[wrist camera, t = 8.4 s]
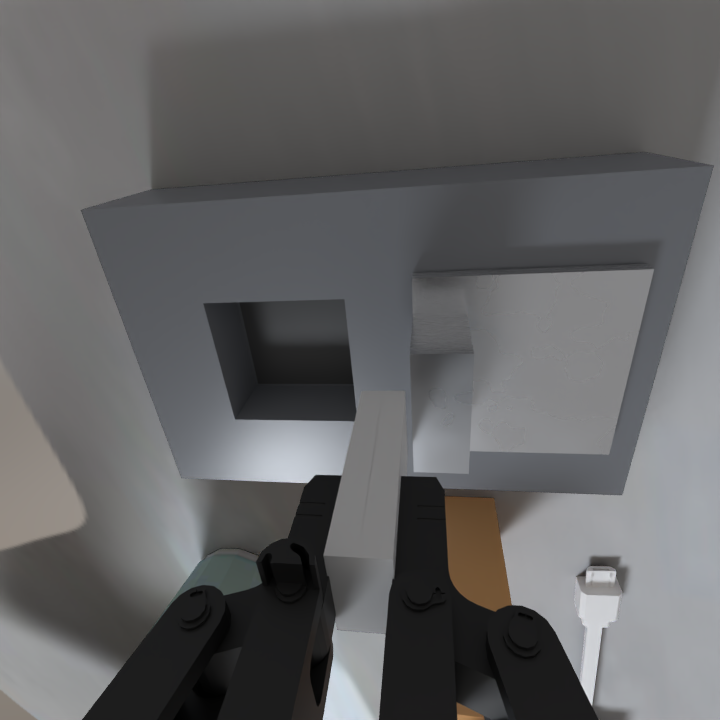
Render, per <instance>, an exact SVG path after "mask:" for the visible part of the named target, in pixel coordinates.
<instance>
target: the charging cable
mask: <svg viewBox="0 0 720 720" xmlns="http://www.w3.org/2000/svg"><path fill="white" fill-rule="evenodd" d="M621 599H622V590H621V587H620V585H619V582H618V580H617V578H616V569H614V568H612V567H611V566H589V567H588V568H587V569H586V576H576V585H575V597H574V603H575V606H576V610H577V613H578V616H579V617H580V618H581V621H582V624H583V625H584V626H585V635H584V644H583V654H582V663H581V673H580V683H581V685H582V687H583V689H584V691H585V693H586V695H587V697H588V699H589V701H590V703H591V706H592V702H593V695H594V687H595V680H596V672H597V665H598V657H599V650H600V642H601V634H602V628H608V627H609V626H610V622H616V621H617V619H618V618H619V612H620V605H621Z"/></svg>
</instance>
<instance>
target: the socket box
mask: <svg viewBox="0 0 720 720" xmlns="http://www.w3.org/2000/svg"><path fill="white" fill-rule="evenodd" d="M713 167H714V166H713V165H708V164H703V163H698V162H693V161H688V160H683V159H678V158H673V157H667V156H662V155H657V154H652V153H647V152H640V153H627V154H614V155H601V156H588V157H575V158H561V159H548V160H535V161H522V162H509V163H495V164H482V165H469V166H456V167H443V168H430V169H416V170H403V171H390V172H377V173H364V174H350V175H337V176H324V177H311V178H298V179H285V180H271V181H258V182H245V183H232V184H219V185H206V186H192V187H179V188H166V189H153V190H148V191H144V192H141V193H138V194H134V195H131V196H127V197H124V198H120V199H117V200H113V201H110V202H106V203H103V204H99V205H96V206H92V207H89V208H85V209H82V210H81V212H82V214H83V217H84V220H85V222H86V225H87V228H88V230H89V233H90V236H91V238H92V241H93V244H94V246H95V249H96V252H97V254H98V257H99V260H100V262H101V265H102V268H103V270H104V273H105V276H106V278H107V281H108V284H109V286H110V289H111V292H112V294H113V297H114V300H115V302H116V305H117V308H118V310H119V313H120V316H121V318H122V321H123V324H124V326H125V329H126V332H127V334H128V337H129V340H130V342H131V345H132V348H133V350H134V353H135V355H136V358H137V361H138V363H139V366H140V369H141V371H142V374H143V377H144V379H145V382H146V385H147V387H148V390H149V393H150V395H151V398H152V401H153V403H154V406H155V409H156V411H157V414H158V417H159V419H160V422H161V425H162V427H163V430H164V433H165V435H166V438H167V441H168V443H169V446H170V449H171V451H172V454H173V457H174V459H175V462H176V465H177V467H178V470H179V473H180V475H181V478H188V479H214V480H240V481H266V482H292V483H309V481H310V480H311V479H312V478H313V477H314V476H315V475H342V473H343V469H344V464H345V460H346V456H347V451H348V447H349V443H350V438H351V434H352V430H353V425H354V421H355V417H356V412H357V408H358V404H359V399H360V395H361V391H405V401H406V425H407V449H408V457H407V476H419V477H437V479H438V481H439V482H440V484H441V486H442V487H443V488H447V489H473V490H499V491H525V492H551V493H576V494H602V495H622V494H623V491H624V487H625V483H626V480H627V476H628V473H629V469H630V465H631V462H632V458H633V455H634V451H635V447H636V444H637V440H638V437H639V433H640V429H641V426H642V422H643V419H644V415H645V411H646V408H647V404H648V401H649V397H650V393H651V390H652V386H653V383H654V379H655V375H656V372H657V368H658V365H659V361H660V357H661V354H662V350H663V347H664V343H665V339H666V336H667V332H668V329H669V325H670V321H671V318H672V314H673V311H674V307H675V303H676V300H677V296H678V293H679V289H680V285H681V282H682V278H683V275H684V271H685V267H686V264H687V260H688V257H689V253H690V249H691V246H692V242H693V239H694V235H695V231H696V228H697V224H698V221H699V217H700V213H701V210H702V206H703V203H704V199H705V195H706V192H707V188H708V185H709V181H710V177H711V174H712V170H713ZM626 264H648V265H649V266H651V267H652V268H653V269H654V272H653V276H652V280H651V285H650V289H649V293H648V297H647V301H646V305H645V309H644V313H643V317H642V322H641V326H640V330H639V334H638V338H637V342H636V346H635V350H634V354H633V359H632V363H631V367H630V371H629V375H628V379H627V383H626V387H625V391H624V396H623V400H622V404H621V408H620V412H619V416H618V420H617V424H616V428H615V433H614V437H613V441H612V445H611V449H610V453H609V455H603V454H564V453H524V452H484V451H470V457H469V474H456V473H426V472H414V466H413V437H412V408H411V380H410V344H411V332H412V320H413V307H412V273H419V272H445V271H471V270H497V269H523V268H548V267H574V266H600V265H626Z"/></svg>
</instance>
